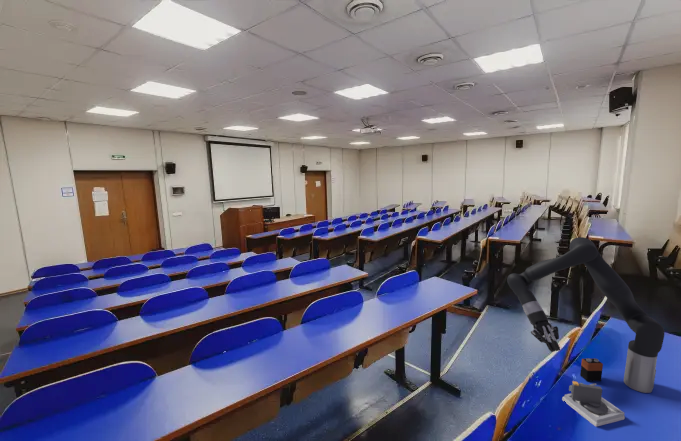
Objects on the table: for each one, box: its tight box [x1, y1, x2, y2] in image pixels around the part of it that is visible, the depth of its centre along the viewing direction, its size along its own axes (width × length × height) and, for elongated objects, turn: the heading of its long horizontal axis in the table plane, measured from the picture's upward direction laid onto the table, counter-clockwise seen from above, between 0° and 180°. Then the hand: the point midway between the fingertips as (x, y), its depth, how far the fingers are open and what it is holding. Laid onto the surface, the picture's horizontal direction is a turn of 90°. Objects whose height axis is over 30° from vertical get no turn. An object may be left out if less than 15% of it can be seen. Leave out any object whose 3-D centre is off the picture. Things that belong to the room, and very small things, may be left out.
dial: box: [571, 380, 608, 415], centre depth 122 cm, size 12×9×9 cm
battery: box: [579, 357, 604, 382], centre depth 139 cm, size 4×7×10 cm, turn 89°
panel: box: [561, 392, 625, 427], centre depth 122 cm, size 14×14×3 cm
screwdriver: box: [568, 382, 597, 393], centre depth 133 cm, size 14×3×3 cm, turn 103°
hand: (555, 350), depth 131 cm, fingers closed
